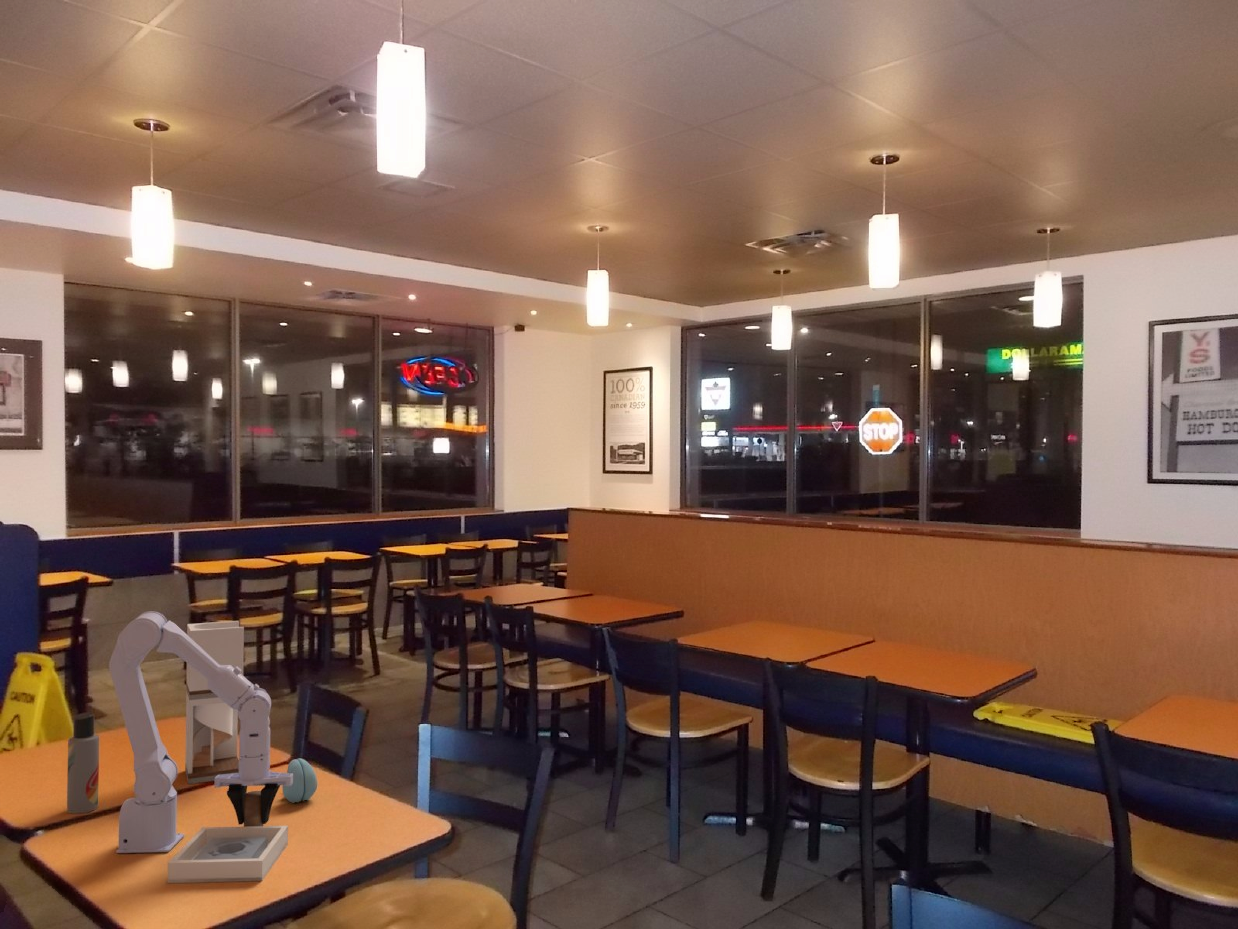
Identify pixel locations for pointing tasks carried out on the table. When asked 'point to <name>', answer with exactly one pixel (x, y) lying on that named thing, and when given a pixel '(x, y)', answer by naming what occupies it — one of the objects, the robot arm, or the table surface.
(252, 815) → the peg
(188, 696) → the tall white shelf
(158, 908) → the table surface
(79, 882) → the table surface
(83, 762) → the lotion bottle
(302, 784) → the toy flower bud
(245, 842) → the box
